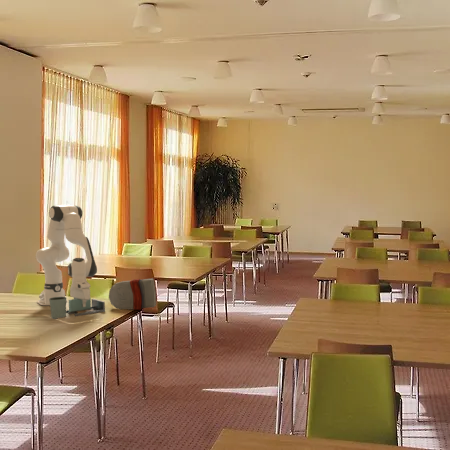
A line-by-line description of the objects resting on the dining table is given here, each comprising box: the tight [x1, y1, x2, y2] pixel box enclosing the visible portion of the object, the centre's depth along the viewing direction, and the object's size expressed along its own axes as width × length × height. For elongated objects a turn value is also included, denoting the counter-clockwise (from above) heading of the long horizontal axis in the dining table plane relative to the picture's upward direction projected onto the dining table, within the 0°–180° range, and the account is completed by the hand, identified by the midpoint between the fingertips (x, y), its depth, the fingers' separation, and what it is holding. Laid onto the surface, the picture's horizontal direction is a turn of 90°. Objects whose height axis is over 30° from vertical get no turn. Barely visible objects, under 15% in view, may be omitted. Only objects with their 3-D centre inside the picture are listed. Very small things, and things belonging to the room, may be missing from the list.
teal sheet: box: [68, 297, 92, 312], centre depth 416 cm, size 2×14×9 cm, turn 130°
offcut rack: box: [66, 298, 106, 317], centre depth 413 cm, size 15×20×7 cm
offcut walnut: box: [76, 309, 95, 314], centre depth 410 cm, size 4×10×2 cm, turn 114°
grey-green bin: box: [49, 296, 67, 320], centre depth 402 cm, size 10×10×12 cm
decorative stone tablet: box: [108, 278, 157, 311], centre depth 424 cm, size 19×6×30 cm
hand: (80, 305), depth 416 cm, fingers open, 8 cm apart
